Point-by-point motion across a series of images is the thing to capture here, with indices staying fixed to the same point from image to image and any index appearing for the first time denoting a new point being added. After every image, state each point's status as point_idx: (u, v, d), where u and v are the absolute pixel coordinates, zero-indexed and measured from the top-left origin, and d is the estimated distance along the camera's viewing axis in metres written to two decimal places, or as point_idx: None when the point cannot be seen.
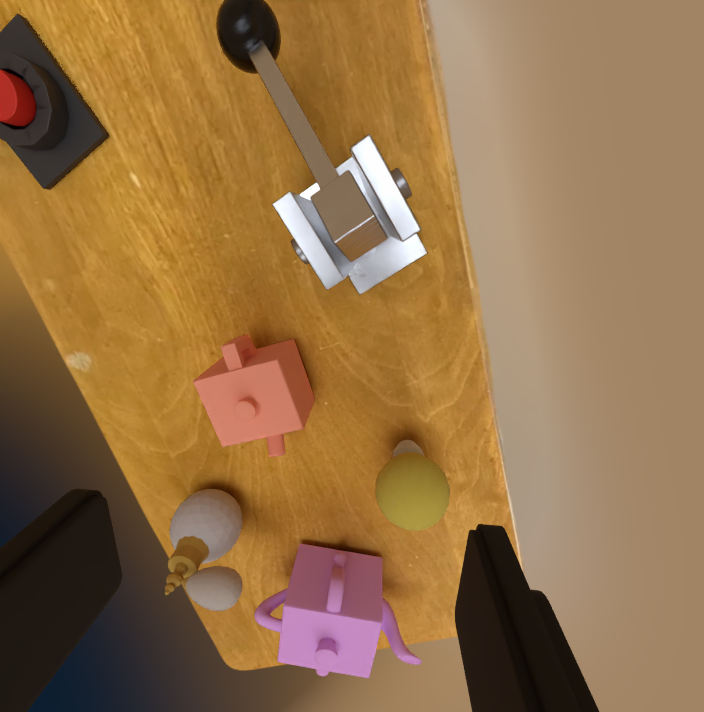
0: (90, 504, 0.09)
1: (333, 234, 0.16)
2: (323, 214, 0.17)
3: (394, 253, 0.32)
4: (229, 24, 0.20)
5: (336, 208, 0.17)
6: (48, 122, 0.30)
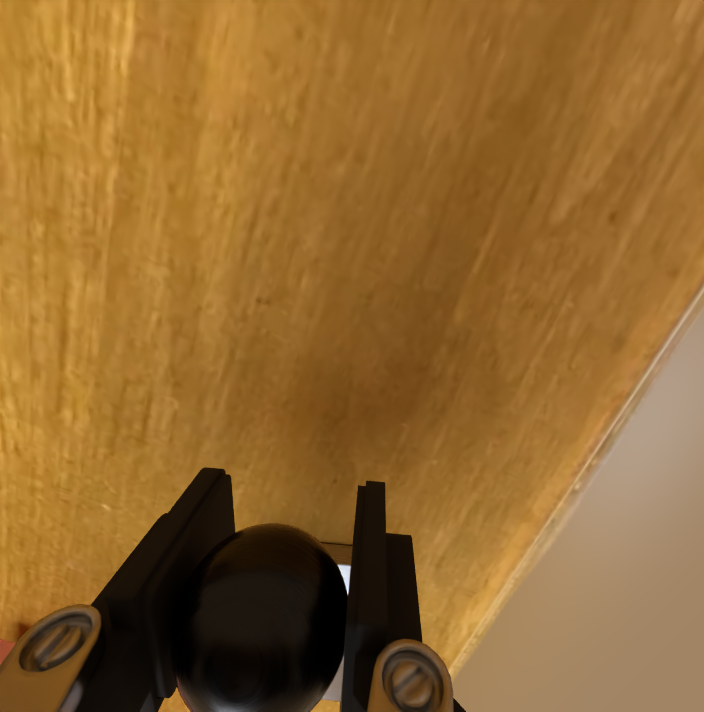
0: (223, 480, 0.10)
1: None
2: None
3: (335, 683, 0.20)
4: (200, 709, 0.06)
5: None
6: None
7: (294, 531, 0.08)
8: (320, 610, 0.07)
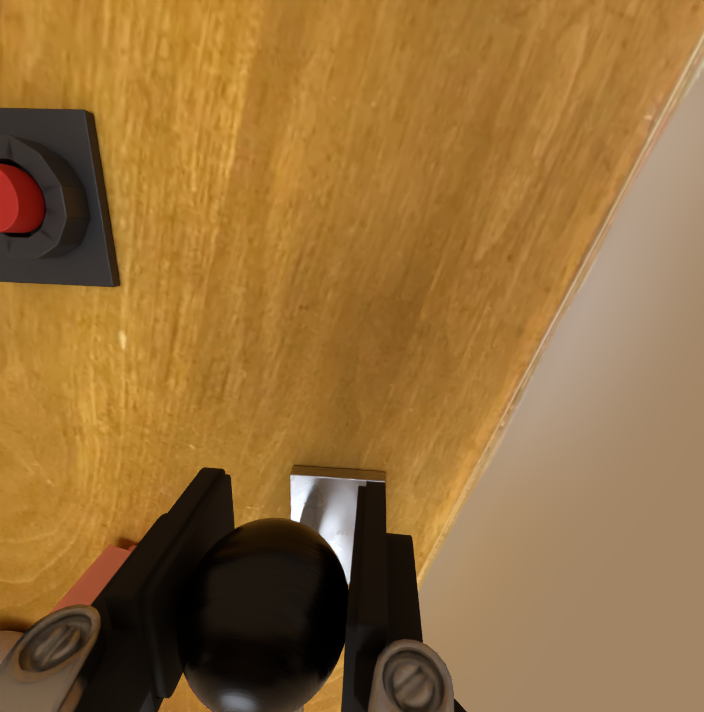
0: (222, 480, 0.10)
1: None
2: None
3: (347, 569, 0.29)
4: None
5: None
6: (45, 251, 0.22)
7: (284, 559, 0.07)
8: (317, 651, 0.07)
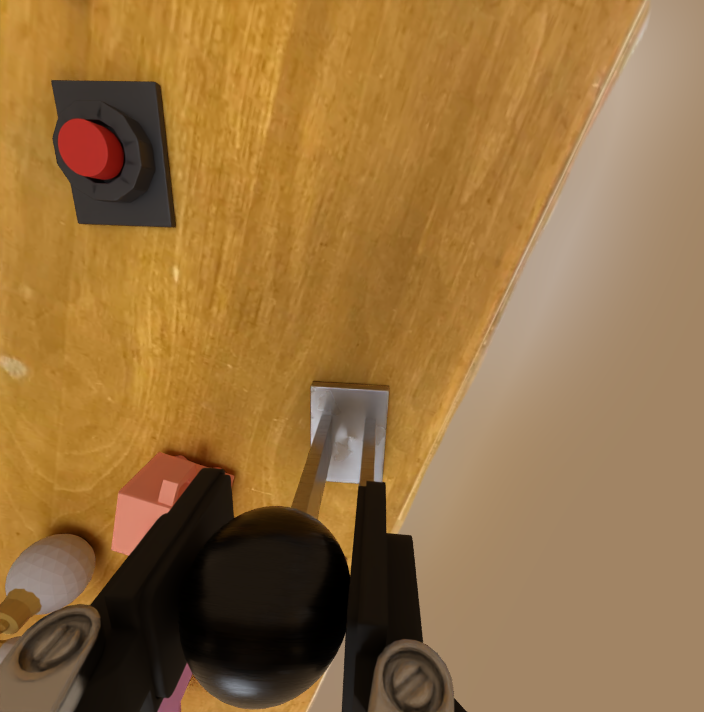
0: (222, 480, 0.10)
1: None
2: None
3: (357, 470, 0.35)
4: None
5: None
6: (122, 194, 0.28)
7: (273, 607, 0.06)
8: (317, 672, 0.07)
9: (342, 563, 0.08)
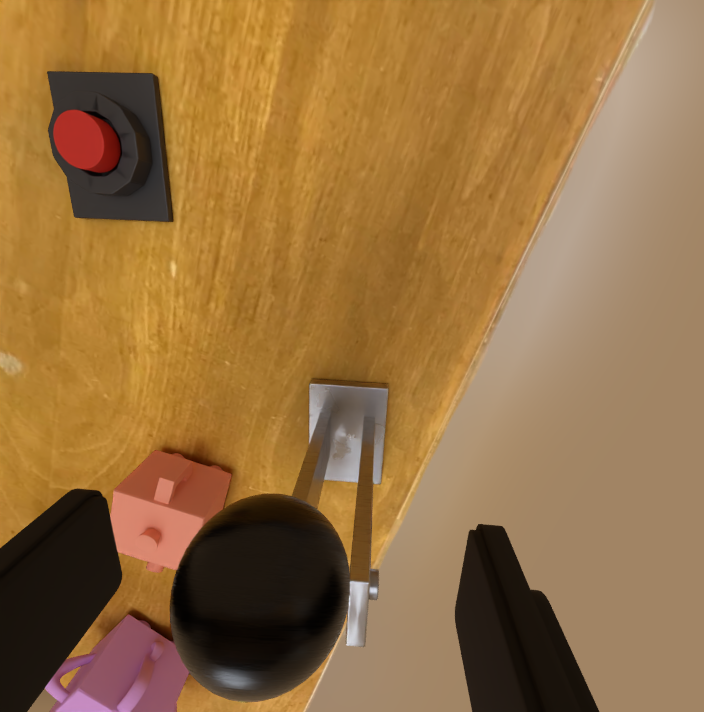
0: (90, 504, 0.09)
1: None
2: None
3: (355, 469, 0.35)
4: None
5: None
6: (119, 187, 0.27)
7: (268, 593, 0.06)
8: (314, 663, 0.07)
9: (340, 551, 0.08)
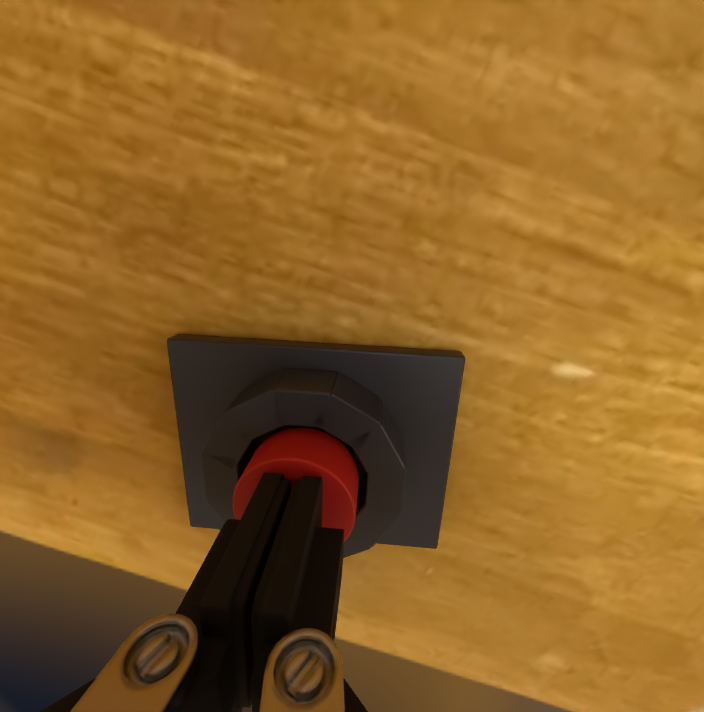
0: (286, 485, 0.10)
1: None
2: None
3: None
4: None
5: None
6: (393, 451, 0.11)
7: None
8: None
9: None
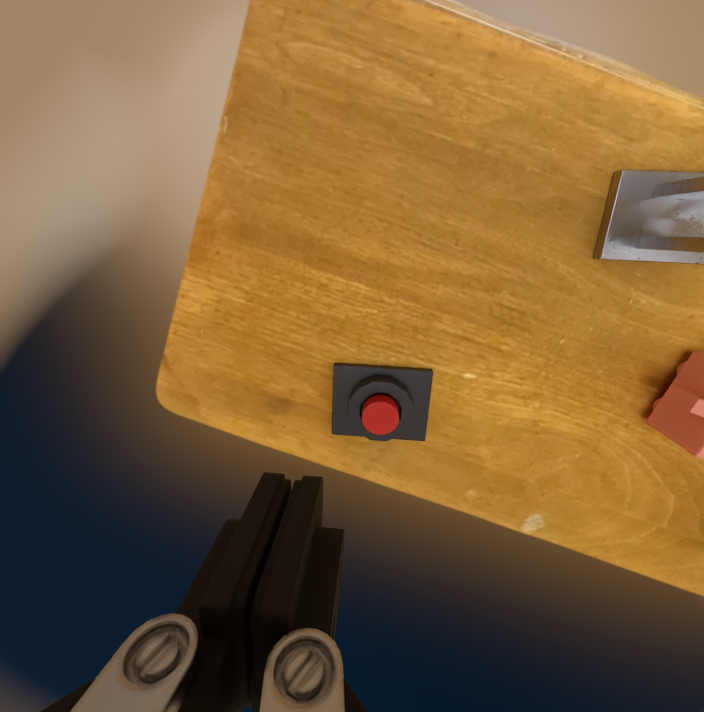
0: (286, 485, 0.10)
1: None
2: None
3: None
4: None
5: None
6: (409, 400, 0.36)
7: None
8: None
9: None
